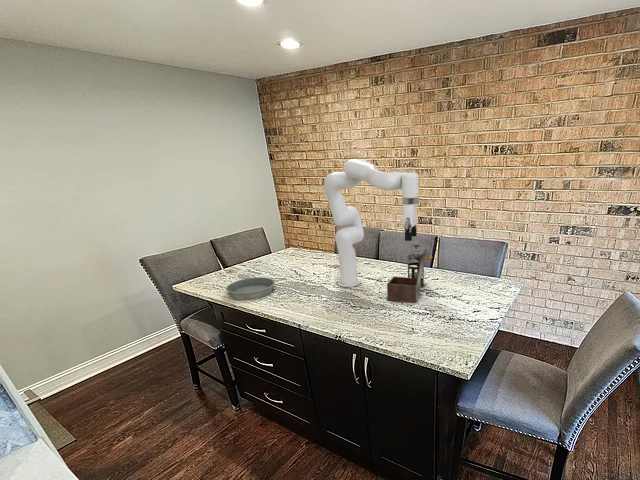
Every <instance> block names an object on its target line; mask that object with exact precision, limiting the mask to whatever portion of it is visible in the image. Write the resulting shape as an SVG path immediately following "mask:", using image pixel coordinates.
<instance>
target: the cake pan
mask: <svg viewBox="0 0 640 480" xmlns="http://www.w3.org/2000/svg"><path fill="white" fill-rule="evenodd" d="M275 284H276V281H275V280H274V279H273V278H270V277H261V276H260V277H249V278H242V279H238V280H236V281H234V282H231V283H229V284H227V286H226V287H225V290H226V292H228V293H229V295H230V297H231V298H232V299H235V300H243V301H244V300H255V299H259V298H262V297H265V296H267V295H269V294H271V293H272V292H273V290H274V286H275Z"/></svg>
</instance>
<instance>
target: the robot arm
mask: <svg viewBox="0 0 640 480" xmlns="http://www.w3.org/2000/svg"><path fill="white" fill-rule="evenodd" d="M419 178H420V177H419V174H418V173H417V172H403V171H391V172H385V171H381V170H378V167H377V166H376V165H375V164H372V163H370V162H369V161H367V160H366V159H364V158H353V159H348V160H347V161H346V162H345V163H344V165H343V171H336V172H331V173H329V174H327V175H326V176H325V178H324V180H323V191H324V193H325V197H326V198H327V201H328V205H329V209H330V213H331V217H332V219H333V223H334V225H336V226H337V227H343V228H340V229H338V230H337V231H336V233H335V235H334V240H335V243H336V247H337V255H338V266H339V275H336V274H335V275H334V280H335V281H338V282H337V284H338V286H339V287H342V288H352V287H356V286H357V287H358V286H359V285H360V284H361V279H360V278H358V265H357V254H356V250H355V248H354V246H353V245H355V244H358V243H360V242H362V241H363V240H364V238H365V232H364V227H363V223H362V219H361V213H360V212H359V209H357V208H356V207H355V206H352V205H348V206H347V204H346V199H345V197H344V195H343V194H342V193H341V191H340V190H346V189H347V190H348V189H354V188H355V187H356V186H358V185H359V184H360V183H362V182H365V183H368V184H369V185H370V186H372V187H374V188H377V189H380V190H383V191H396V190H401V204H402V206H403V207H402V228H404V241H405V242H412V240H413V237H414V238H415V237H417V235H418V234H417V224H418V206H419V203H420V201H419V199H420V197H419V189H420V187H419V184H420V183H419V181H420V179H419ZM344 226H347V227H344Z"/></svg>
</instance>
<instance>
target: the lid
mask: <svg viewBox="0 0 640 480" xmlns="http://www.w3.org/2000/svg"><path fill="white" fill-rule="evenodd" d="M427 252H428V249H427V248H425V249H424V250H423V251H422V252H421V253H420V254H421V256H420V261H418V262H419V267H418V272H417V271H416V272H417V277H416V283H415V285H417V284H418V282H419V281H420V279H421V278H423V276H422V273H423V267H424V268H425V262H426V261H428V262H430V261H431V260H432V259H433V254H432V255H431V254H430V255H428V254H427Z"/></svg>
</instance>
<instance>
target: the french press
mask: <svg viewBox="0 0 640 480" xmlns="http://www.w3.org/2000/svg"><path fill="white" fill-rule="evenodd" d="M411 247H414V249H415V250H417V249H418V248H419V247H421V245H420V244H412V245H411ZM421 254H422V253H412V254H408V255H407V257H408V261H411V260H415V262H410V263H408V264H407V278H416V277H417V272H418V267H419V261H420V256H421ZM410 270H411V272H410ZM423 287H425V266H424V267H423V272H422V277H421V288H423Z"/></svg>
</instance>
